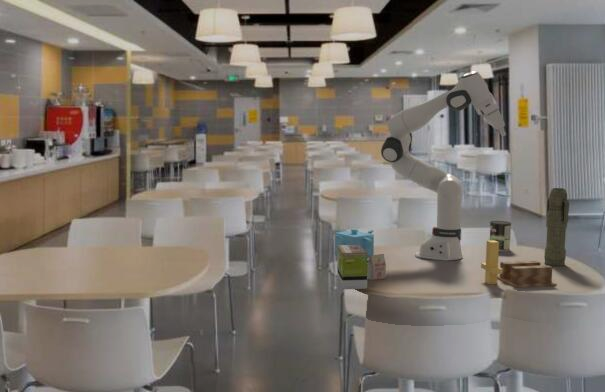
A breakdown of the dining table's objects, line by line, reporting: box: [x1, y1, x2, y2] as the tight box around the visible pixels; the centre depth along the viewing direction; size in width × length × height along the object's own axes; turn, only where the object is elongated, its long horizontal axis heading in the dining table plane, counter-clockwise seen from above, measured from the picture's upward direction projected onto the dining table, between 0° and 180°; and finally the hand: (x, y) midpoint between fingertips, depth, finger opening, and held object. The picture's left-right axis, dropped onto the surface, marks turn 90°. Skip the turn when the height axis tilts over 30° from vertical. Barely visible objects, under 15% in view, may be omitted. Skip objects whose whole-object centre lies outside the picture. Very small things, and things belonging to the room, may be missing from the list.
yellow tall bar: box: [480, 240, 503, 285], centre depth 244 cm, size 4×11×17 cm, turn 10°
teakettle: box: [333, 228, 375, 259], centre depth 285 cm, size 19×19×15 cm
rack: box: [497, 260, 558, 288], centre depth 248 cm, size 18×16×7 cm
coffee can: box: [489, 220, 512, 252], centre depth 312 cm, size 10×10×14 cm
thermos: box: [543, 187, 570, 267], centre depth 277 cm, size 9×12×35 cm
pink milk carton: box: [367, 253, 387, 281], centre depth 251 cm, size 4×7×10 cm, turn 117°
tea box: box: [336, 245, 368, 290], centre depth 241 cm, size 15×10×15 cm, turn 5°
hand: (501, 133), depth 261 cm, fingers open, 8 cm apart
